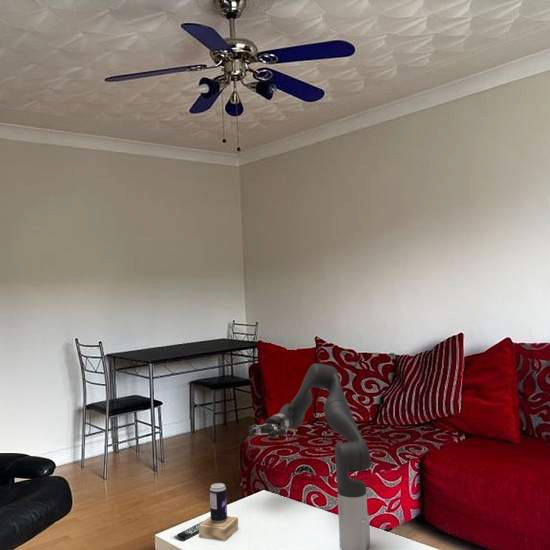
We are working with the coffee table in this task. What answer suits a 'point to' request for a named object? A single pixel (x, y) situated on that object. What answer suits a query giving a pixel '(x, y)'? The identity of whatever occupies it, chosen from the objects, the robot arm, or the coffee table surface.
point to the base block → (218, 528)
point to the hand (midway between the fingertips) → (260, 434)
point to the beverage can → (218, 502)
